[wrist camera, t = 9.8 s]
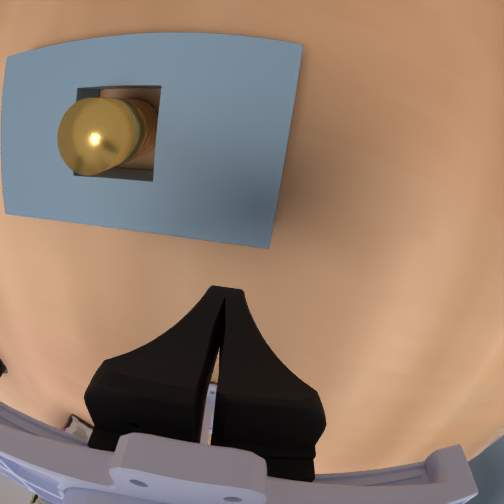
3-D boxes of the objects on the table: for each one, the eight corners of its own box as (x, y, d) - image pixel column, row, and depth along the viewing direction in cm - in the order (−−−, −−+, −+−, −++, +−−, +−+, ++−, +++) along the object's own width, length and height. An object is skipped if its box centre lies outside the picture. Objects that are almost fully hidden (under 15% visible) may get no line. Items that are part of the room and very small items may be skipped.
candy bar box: (69, 411, 33) (30, 504, 18) (100, 429, 34) (67, 524, 20) (58, 433, 37) (27, 508, 22) (84, 448, 38) (57, 524, 24)
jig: (267, 230, 21) (269, 249, 19) (27, 201, 21) (5, 213, 18) (296, 54, 16) (303, 44, 14) (31, 58, 15) (7, 56, 13)
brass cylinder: (157, 159, 19) (120, 177, 14) (105, 156, 19) (57, 174, 14) (163, 99, 18) (125, 96, 12) (109, 100, 18) (59, 100, 12)
